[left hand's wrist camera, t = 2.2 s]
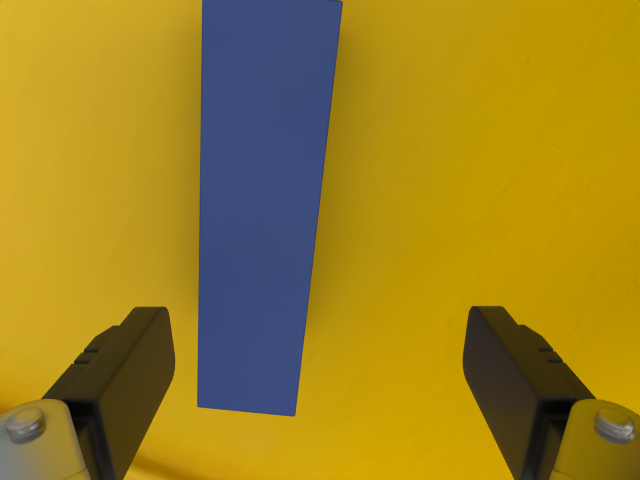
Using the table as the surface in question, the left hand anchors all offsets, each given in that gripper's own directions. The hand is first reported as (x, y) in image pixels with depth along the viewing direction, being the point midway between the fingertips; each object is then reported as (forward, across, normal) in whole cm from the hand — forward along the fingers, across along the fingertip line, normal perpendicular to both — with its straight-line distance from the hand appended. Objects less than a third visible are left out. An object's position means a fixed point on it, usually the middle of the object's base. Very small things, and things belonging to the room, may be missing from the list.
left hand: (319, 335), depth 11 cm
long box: (+22, -3, -2) cm, 22 cm away
